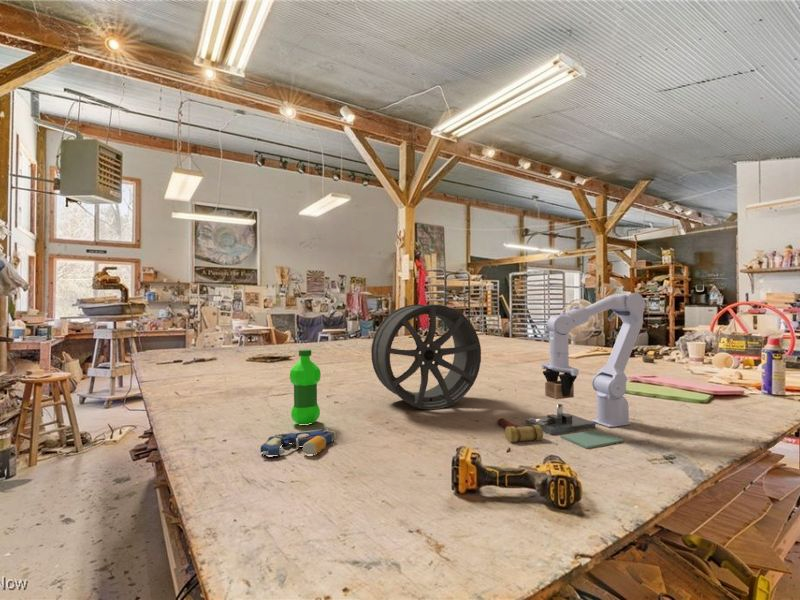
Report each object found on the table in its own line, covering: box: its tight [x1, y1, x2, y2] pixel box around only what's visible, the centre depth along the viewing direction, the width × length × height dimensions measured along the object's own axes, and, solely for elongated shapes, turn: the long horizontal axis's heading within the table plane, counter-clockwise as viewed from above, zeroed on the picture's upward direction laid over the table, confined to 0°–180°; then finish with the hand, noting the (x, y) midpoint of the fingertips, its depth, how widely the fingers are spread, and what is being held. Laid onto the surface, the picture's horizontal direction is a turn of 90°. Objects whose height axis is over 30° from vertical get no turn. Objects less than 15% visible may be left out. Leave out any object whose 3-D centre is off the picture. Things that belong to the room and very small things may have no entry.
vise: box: [524, 403, 597, 436], centre depth 133 cm, size 18×12×7 cm, turn 111°
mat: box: [560, 429, 625, 450], centre depth 119 cm, size 14×10×1 cm
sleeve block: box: [544, 380, 575, 400], centre depth 133 cm, size 7×5×4 cm
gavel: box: [496, 417, 544, 444], centre depth 128 cm, size 21×5×10 cm
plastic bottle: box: [289, 348, 321, 425], centre depth 138 cm, size 10×10×25 cm
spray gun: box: [259, 427, 337, 457], centre depth 114 cm, size 21×4×15 cm
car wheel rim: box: [370, 304, 482, 411], centre depth 163 cm, size 40×20×40 cm, turn 109°
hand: (559, 394), depth 133 cm, fingers closed on sleeve block, 5 cm apart
